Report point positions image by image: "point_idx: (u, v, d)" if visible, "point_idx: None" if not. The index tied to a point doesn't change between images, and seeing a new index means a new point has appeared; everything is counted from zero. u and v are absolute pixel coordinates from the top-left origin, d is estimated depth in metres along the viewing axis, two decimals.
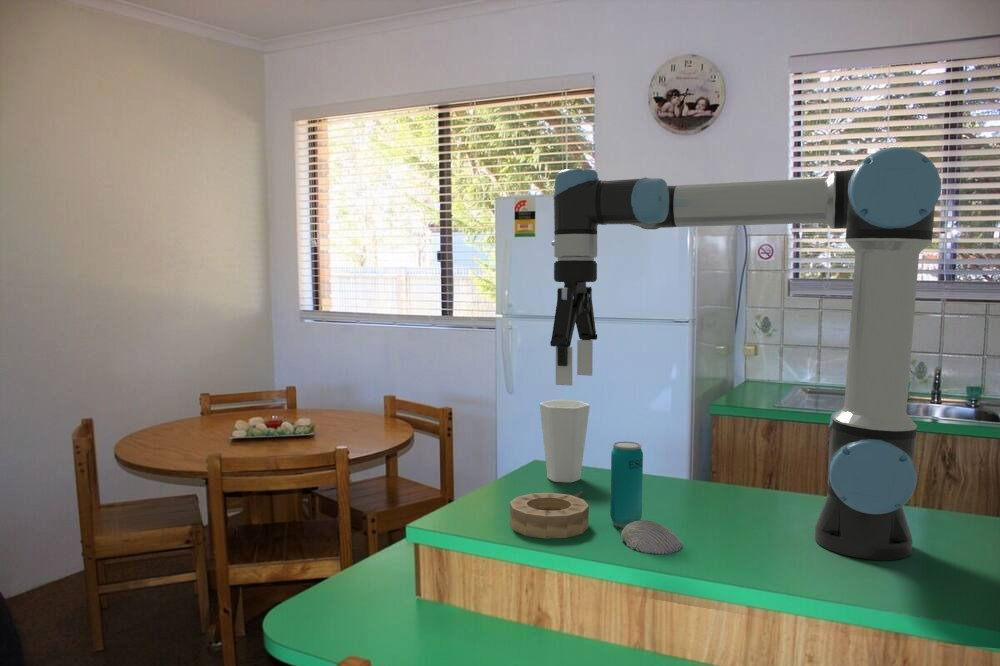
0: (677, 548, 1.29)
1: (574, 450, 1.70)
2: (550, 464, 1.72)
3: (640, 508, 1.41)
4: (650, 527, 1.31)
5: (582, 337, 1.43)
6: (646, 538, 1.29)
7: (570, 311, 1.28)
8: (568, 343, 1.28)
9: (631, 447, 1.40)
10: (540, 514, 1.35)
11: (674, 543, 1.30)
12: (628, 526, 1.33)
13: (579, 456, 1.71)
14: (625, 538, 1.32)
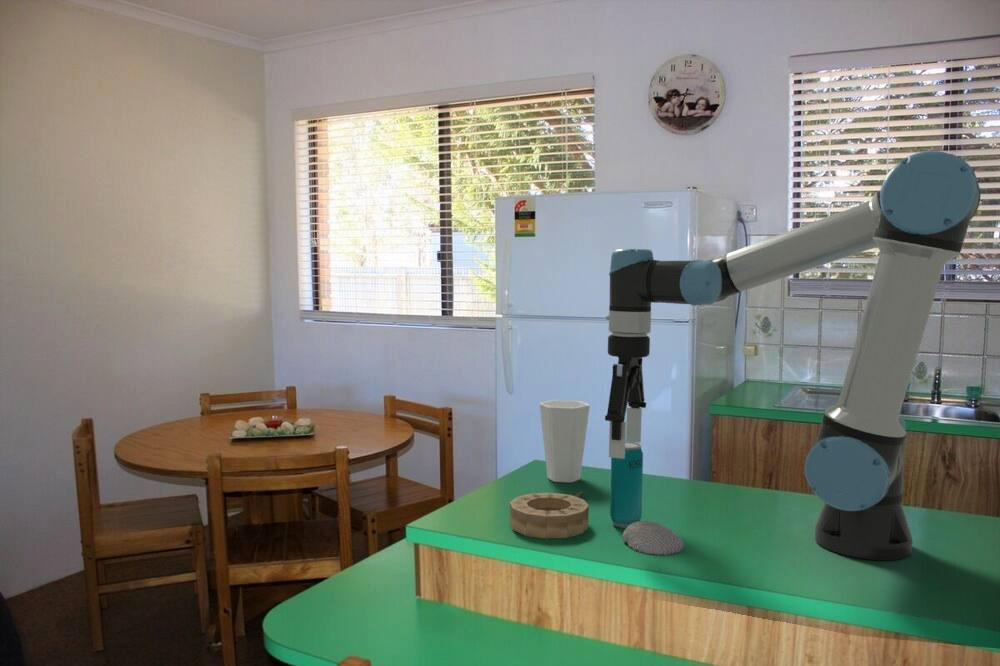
0: (679, 549, 1.29)
1: (574, 450, 1.70)
2: (550, 464, 1.72)
3: (640, 508, 1.41)
4: (652, 528, 1.31)
5: (631, 405, 1.48)
6: (648, 539, 1.29)
7: (625, 388, 1.33)
8: (622, 419, 1.33)
9: (631, 447, 1.40)
10: (540, 514, 1.35)
11: (676, 544, 1.29)
12: (629, 526, 1.33)
13: (579, 456, 1.71)
14: (627, 539, 1.32)
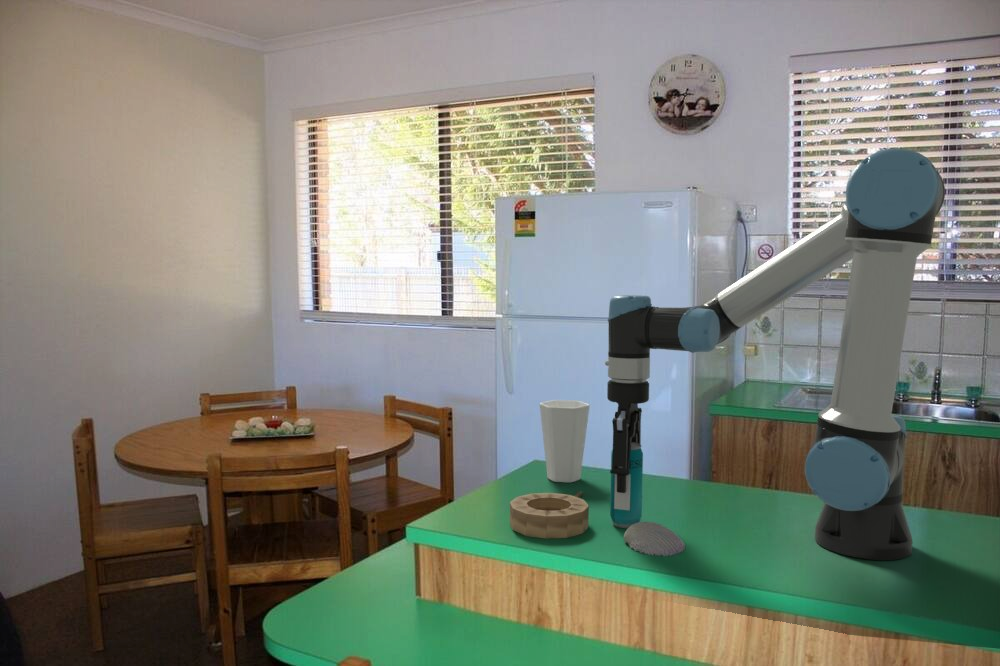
0: (680, 549, 1.29)
1: (574, 450, 1.70)
2: (550, 464, 1.72)
3: (640, 508, 1.41)
4: (653, 529, 1.30)
5: None
6: (649, 540, 1.29)
7: (627, 441, 1.36)
8: (627, 473, 1.37)
9: (631, 447, 1.40)
10: (540, 514, 1.35)
11: (677, 544, 1.29)
12: (631, 527, 1.32)
13: (579, 456, 1.71)
14: (628, 540, 1.31)
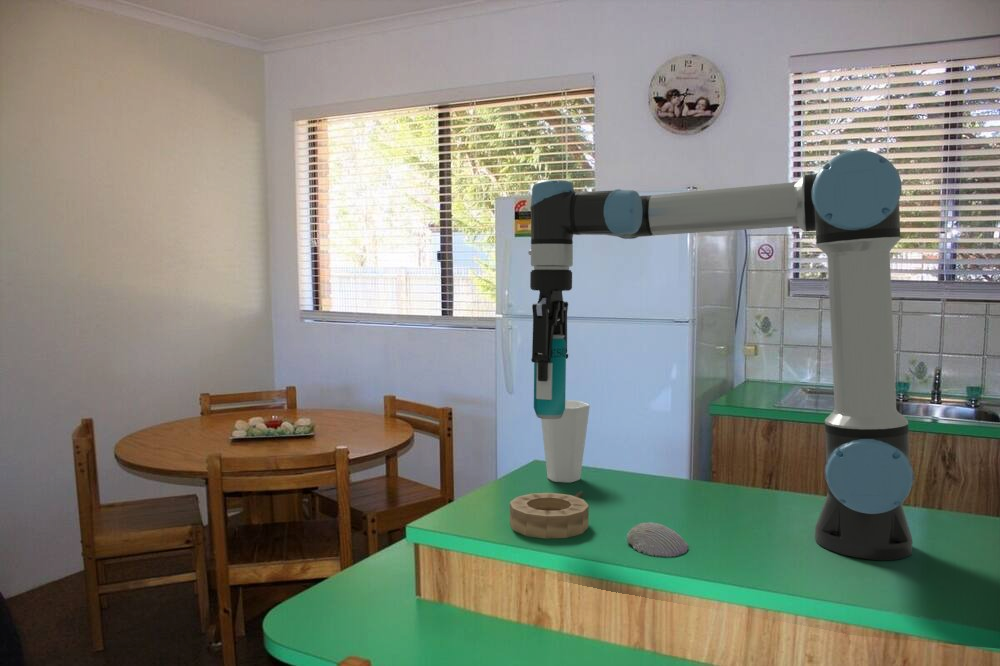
0: (684, 550, 1.28)
1: (574, 450, 1.70)
2: (550, 464, 1.72)
3: (563, 399, 1.39)
4: (656, 530, 1.30)
5: None
6: (653, 541, 1.28)
7: (547, 327, 1.33)
8: (548, 361, 1.35)
9: (553, 336, 1.37)
10: (540, 514, 1.35)
11: (681, 545, 1.29)
12: (634, 528, 1.32)
13: (579, 456, 1.71)
14: (631, 541, 1.31)
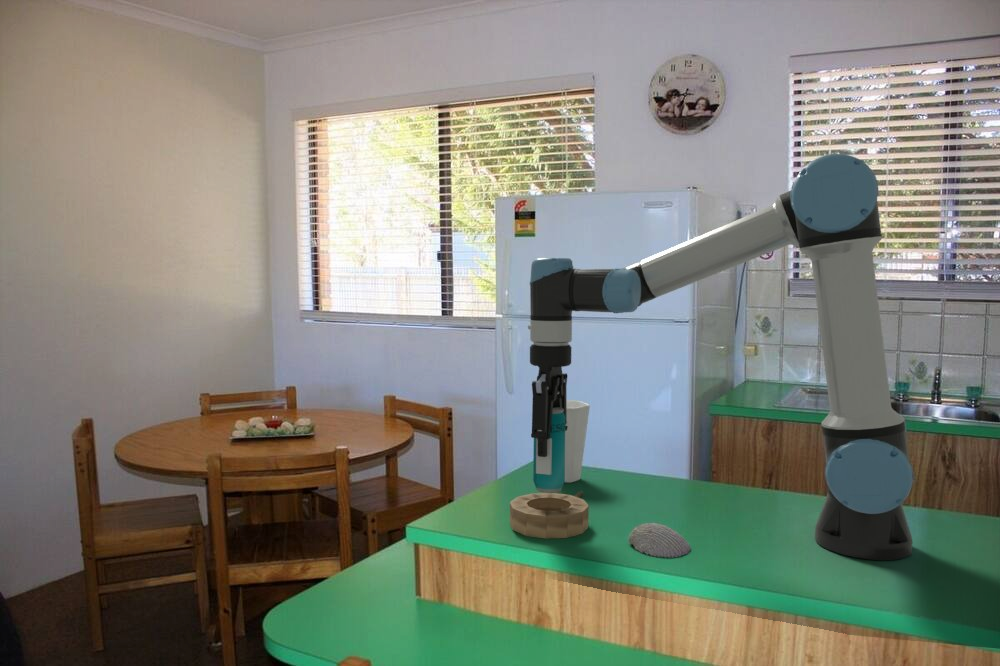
0: (686, 551, 1.28)
1: (574, 450, 1.70)
2: None
3: (562, 473, 1.40)
4: (658, 530, 1.29)
5: None
6: (655, 541, 1.28)
7: (546, 404, 1.34)
8: (547, 437, 1.36)
9: (552, 411, 1.38)
10: (540, 514, 1.35)
11: (683, 546, 1.28)
12: (636, 529, 1.31)
13: (579, 456, 1.71)
14: (633, 541, 1.31)
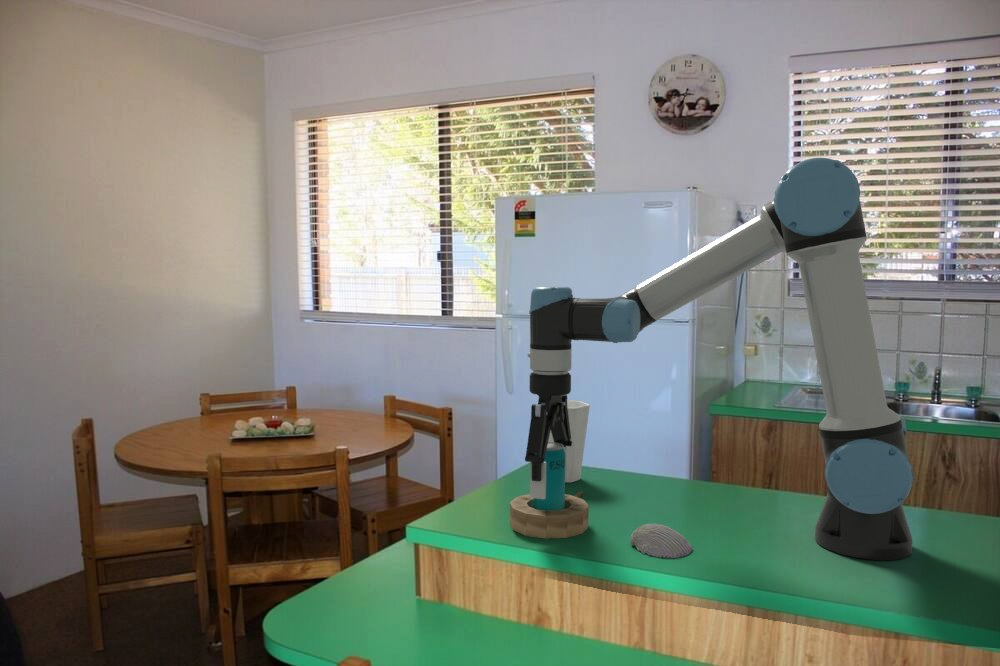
0: (688, 552, 1.28)
1: (574, 450, 1.70)
2: None
3: (562, 509, 1.40)
4: (660, 531, 1.29)
5: None
6: (657, 542, 1.28)
7: (543, 428, 1.33)
8: (542, 460, 1.33)
9: (552, 448, 1.39)
10: (540, 514, 1.35)
11: (685, 547, 1.28)
12: (637, 530, 1.31)
13: (579, 456, 1.71)
14: (635, 542, 1.30)
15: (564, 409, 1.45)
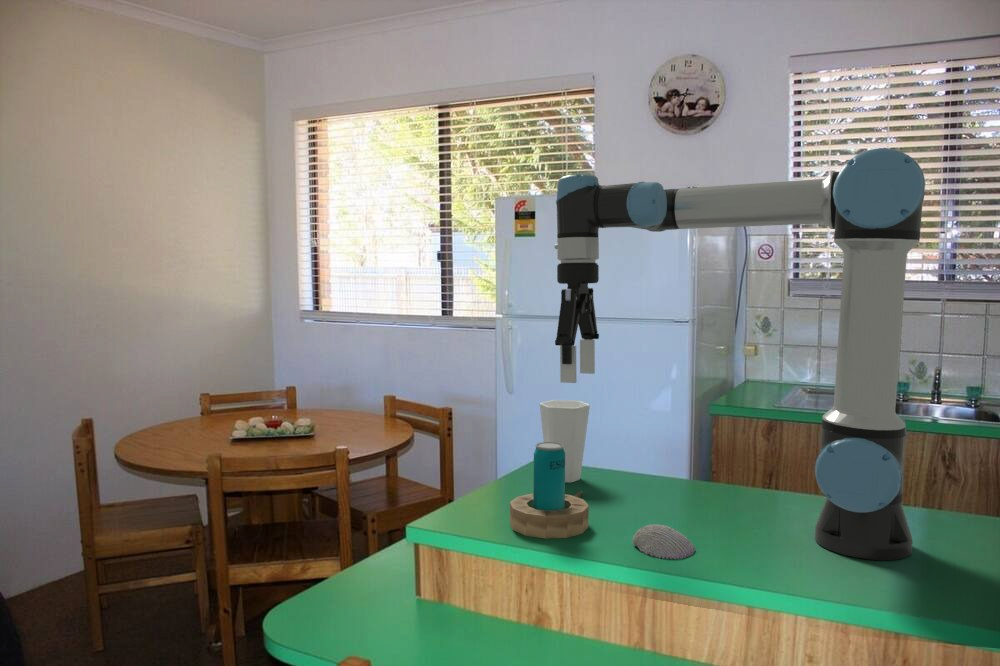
0: (691, 552, 1.28)
1: (574, 450, 1.70)
2: None
3: (562, 509, 1.40)
4: (663, 531, 1.29)
5: (584, 337, 1.48)
6: (660, 543, 1.27)
7: (574, 311, 1.34)
8: (572, 342, 1.33)
9: (552, 448, 1.39)
10: (540, 514, 1.35)
11: (688, 547, 1.28)
12: (640, 530, 1.31)
13: (579, 456, 1.71)
14: (637, 543, 1.30)
15: (591, 302, 1.46)
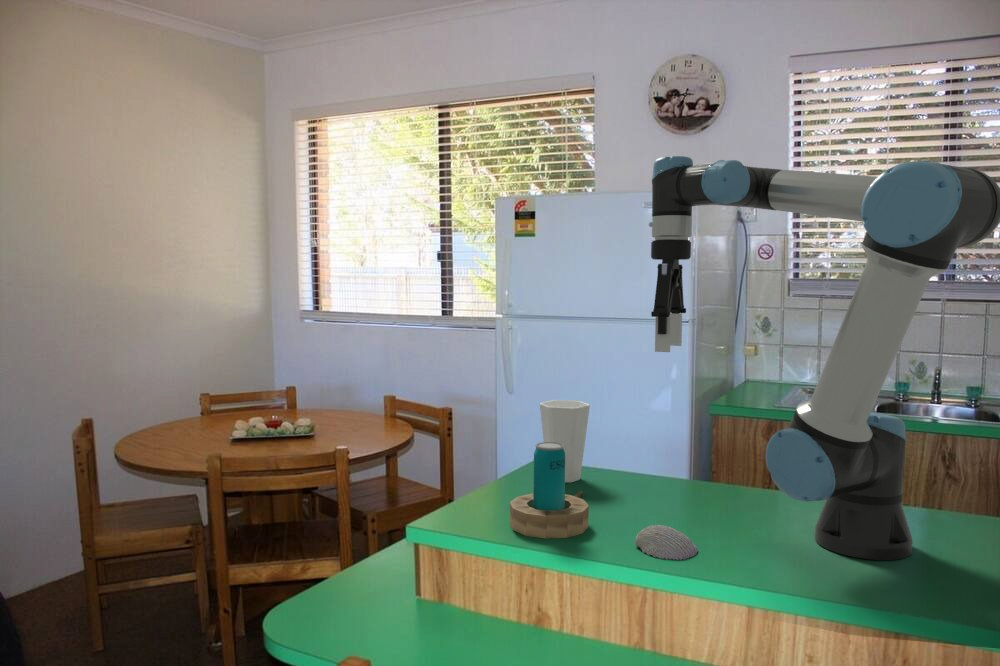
0: (694, 553, 1.27)
1: (574, 450, 1.70)
2: None
3: (562, 509, 1.40)
4: (666, 532, 1.28)
5: (672, 311, 1.57)
6: (663, 544, 1.27)
7: (670, 285, 1.42)
8: (668, 313, 1.42)
9: (552, 448, 1.39)
10: (540, 514, 1.35)
11: (690, 548, 1.27)
12: (642, 531, 1.30)
13: (579, 456, 1.71)
14: (640, 544, 1.29)
15: None
